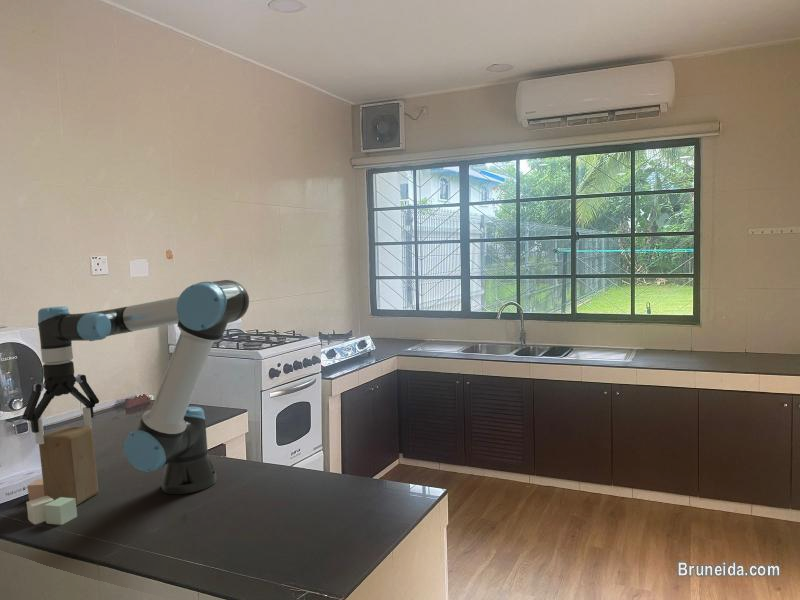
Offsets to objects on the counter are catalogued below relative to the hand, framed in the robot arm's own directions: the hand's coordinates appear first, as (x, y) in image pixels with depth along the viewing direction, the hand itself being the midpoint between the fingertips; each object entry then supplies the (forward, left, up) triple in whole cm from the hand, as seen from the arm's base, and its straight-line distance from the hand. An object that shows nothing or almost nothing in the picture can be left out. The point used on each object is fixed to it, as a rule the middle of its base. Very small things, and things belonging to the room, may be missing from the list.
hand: (65, 436), depth 169 cm
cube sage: (-11, +9, -19) cm, 23 cm away
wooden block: (0, 0, -19) cm, 19 cm away
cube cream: (-5, +11, -19) cm, 22 cm away
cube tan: (+10, +3, -19) cm, 21 cm away
